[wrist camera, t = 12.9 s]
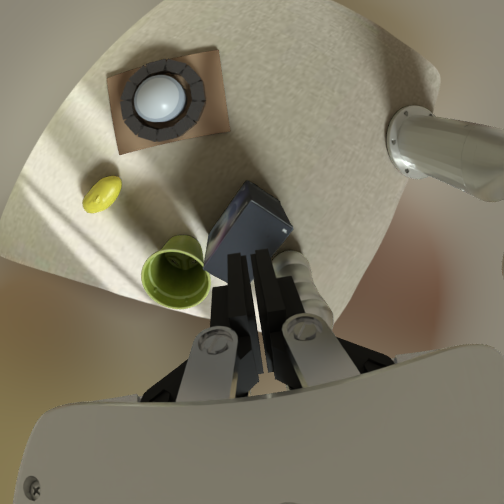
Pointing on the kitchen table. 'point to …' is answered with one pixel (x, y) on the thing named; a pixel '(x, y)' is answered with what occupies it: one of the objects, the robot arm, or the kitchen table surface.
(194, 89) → the segmented ring
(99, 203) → the lemon
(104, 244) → the kitchen table surface
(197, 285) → the plant pot
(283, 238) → the small box
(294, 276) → the plastic bottle
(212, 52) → the board
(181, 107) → the cap
